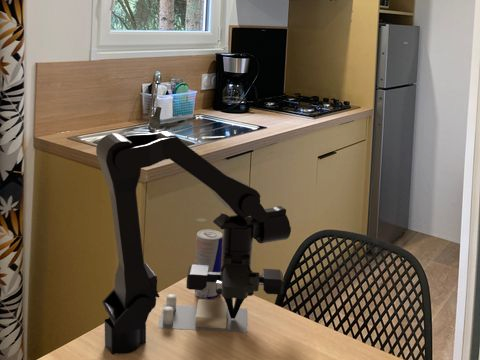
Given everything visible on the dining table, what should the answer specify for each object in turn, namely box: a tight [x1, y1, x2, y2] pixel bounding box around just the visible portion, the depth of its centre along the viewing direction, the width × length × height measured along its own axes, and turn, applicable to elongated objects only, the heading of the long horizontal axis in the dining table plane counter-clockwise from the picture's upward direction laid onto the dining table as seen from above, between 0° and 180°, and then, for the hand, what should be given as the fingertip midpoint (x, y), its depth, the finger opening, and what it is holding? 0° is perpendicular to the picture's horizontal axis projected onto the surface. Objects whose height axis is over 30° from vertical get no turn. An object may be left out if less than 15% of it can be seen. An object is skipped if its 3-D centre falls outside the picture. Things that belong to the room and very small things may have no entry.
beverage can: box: [194, 229, 223, 300], centre depth 117 cm, size 6×6×15 cm
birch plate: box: [195, 298, 228, 328], centre depth 108 cm, size 6×7×2 cm
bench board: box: [157, 293, 248, 333], centre depth 108 cm, size 17×9×4 cm, turn 90°
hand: (232, 317), depth 108 cm, fingers closed
